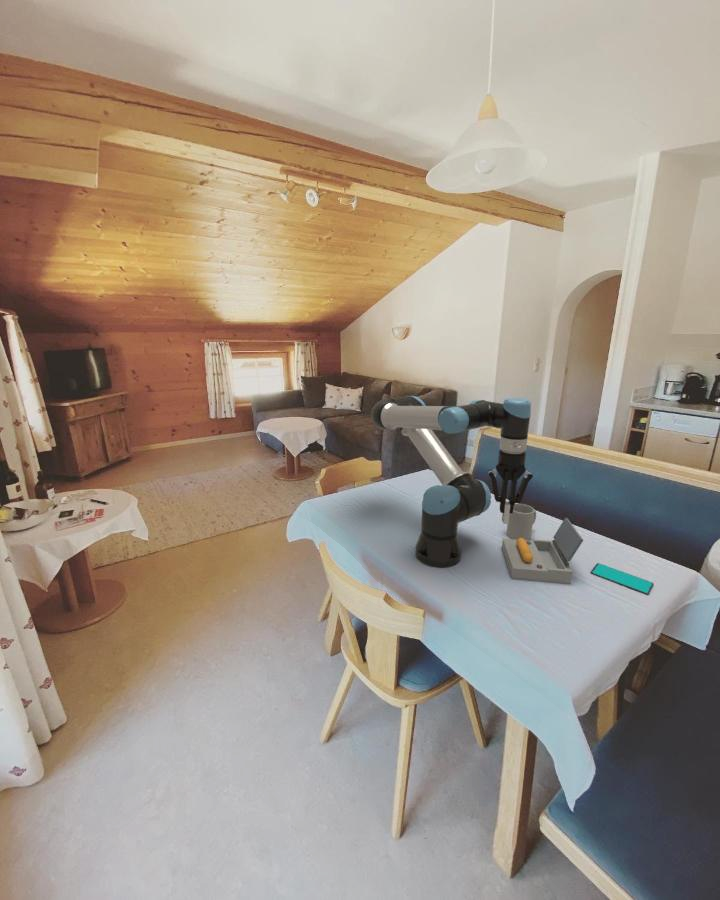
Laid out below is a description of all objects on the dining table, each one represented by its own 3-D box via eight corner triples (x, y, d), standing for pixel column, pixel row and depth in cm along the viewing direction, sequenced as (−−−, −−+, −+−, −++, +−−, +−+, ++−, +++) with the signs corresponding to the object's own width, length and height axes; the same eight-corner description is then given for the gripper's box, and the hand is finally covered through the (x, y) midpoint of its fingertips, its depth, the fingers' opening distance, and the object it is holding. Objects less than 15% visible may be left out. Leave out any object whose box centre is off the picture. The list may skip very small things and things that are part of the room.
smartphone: (597, 562, 126) (653, 582, 116) (597, 565, 126) (653, 585, 116) (590, 572, 121) (648, 594, 111) (589, 574, 122) (647, 596, 111)
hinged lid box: (511, 578, 119) (513, 566, 118) (501, 547, 136) (502, 536, 135) (570, 583, 117) (572, 571, 115) (552, 551, 134) (554, 540, 132)
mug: (519, 543, 139) (523, 515, 136) (501, 533, 146) (504, 506, 143) (542, 535, 144) (546, 508, 141) (523, 525, 151) (527, 499, 148)
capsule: (523, 563, 120) (524, 555, 120) (515, 543, 132) (516, 535, 131) (533, 564, 120) (534, 556, 119) (524, 544, 131) (525, 536, 130)
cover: (580, 539, 114) (585, 540, 114) (565, 517, 127) (569, 518, 127) (564, 565, 117) (568, 566, 117) (550, 541, 130) (554, 542, 130)
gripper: (491, 453, 114) (485, 525, 121) (538, 455, 112) (529, 528, 119) (488, 446, 122) (482, 515, 128) (532, 447, 119) (524, 517, 126)
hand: (505, 521), depth 124 cm, fingers closed
